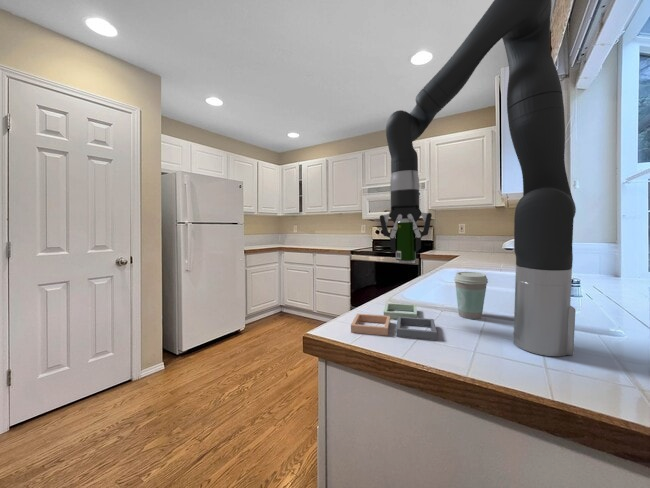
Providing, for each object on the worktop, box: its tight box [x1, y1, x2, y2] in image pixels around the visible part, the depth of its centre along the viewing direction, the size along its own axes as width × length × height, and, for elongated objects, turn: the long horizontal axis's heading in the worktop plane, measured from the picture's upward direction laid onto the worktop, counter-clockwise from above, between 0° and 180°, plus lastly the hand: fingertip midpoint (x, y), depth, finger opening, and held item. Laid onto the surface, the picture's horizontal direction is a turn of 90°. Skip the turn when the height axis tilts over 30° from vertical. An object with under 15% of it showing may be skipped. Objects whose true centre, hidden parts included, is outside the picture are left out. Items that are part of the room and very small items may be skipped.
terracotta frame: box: [350, 313, 391, 336], centre depth 73 cm, size 9×9×2 cm
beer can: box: [395, 218, 417, 264], centre depth 77 cm, size 5×5×12 cm
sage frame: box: [383, 302, 418, 320], centre depth 82 cm, size 9×9×2 cm
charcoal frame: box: [395, 317, 438, 341], centre depth 70 cm, size 9×9×2 cm
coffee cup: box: [453, 271, 489, 320], centre depth 79 cm, size 8×9×12 cm
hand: (405, 251), depth 77 cm, fingers closed on beer can, 5 cm apart
